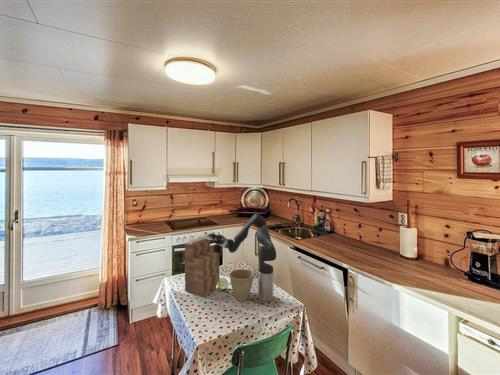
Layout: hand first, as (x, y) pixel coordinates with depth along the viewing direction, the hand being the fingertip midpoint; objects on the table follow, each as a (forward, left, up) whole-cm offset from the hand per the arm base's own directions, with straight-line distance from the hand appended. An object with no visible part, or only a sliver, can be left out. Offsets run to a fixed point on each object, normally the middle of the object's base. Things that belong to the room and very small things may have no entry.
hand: (208, 234), depth 175 cm
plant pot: (-28, -18, -35) cm, 48 cm away
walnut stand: (-11, +5, -35) cm, 37 cm away
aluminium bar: (-4, +4, -3) cm, 7 cm away
